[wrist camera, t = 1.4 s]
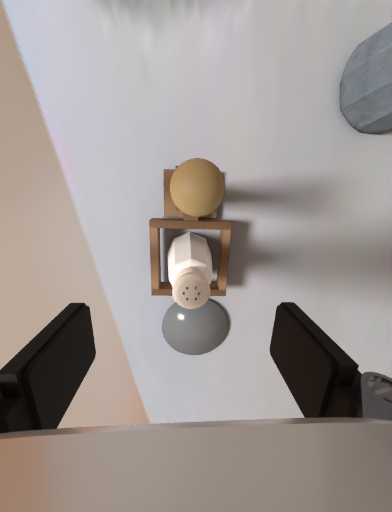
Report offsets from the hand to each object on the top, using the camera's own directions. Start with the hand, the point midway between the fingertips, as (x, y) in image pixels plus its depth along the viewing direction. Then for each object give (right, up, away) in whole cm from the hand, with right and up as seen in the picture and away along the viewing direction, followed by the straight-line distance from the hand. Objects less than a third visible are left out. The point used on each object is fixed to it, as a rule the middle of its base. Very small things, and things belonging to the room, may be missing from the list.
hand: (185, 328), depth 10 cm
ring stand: (0, +6, +14) cm, 16 cm away
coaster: (0, -6, +18) cm, 19 cm away
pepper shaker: (0, +4, +15) cm, 16 cm away
